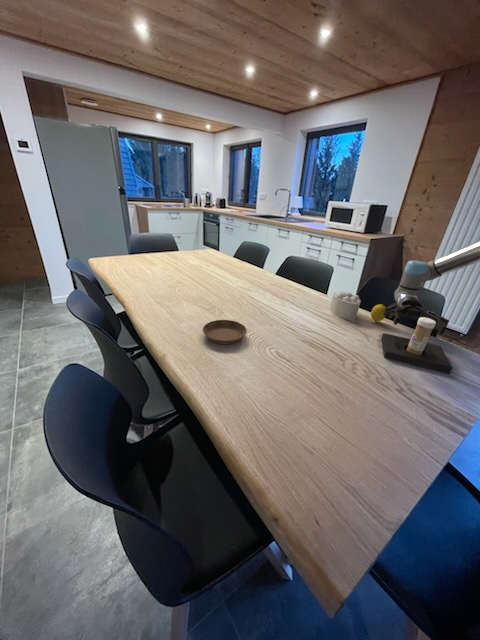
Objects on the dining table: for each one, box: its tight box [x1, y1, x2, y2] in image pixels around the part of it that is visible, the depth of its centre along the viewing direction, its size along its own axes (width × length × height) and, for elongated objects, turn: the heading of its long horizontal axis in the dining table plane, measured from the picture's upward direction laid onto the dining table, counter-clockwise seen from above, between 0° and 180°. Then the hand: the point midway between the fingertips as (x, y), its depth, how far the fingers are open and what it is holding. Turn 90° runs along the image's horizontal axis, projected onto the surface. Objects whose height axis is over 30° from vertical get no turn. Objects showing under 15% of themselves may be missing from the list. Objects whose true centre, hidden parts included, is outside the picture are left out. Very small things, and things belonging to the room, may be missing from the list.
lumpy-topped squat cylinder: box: [329, 291, 362, 321], centre depth 115 cm, size 10×13×9 cm
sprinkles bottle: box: [407, 317, 436, 355], centre depth 84 cm, size 5×5×13 cm
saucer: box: [202, 319, 247, 345], centre depth 90 cm, size 15×15×3 cm
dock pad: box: [380, 332, 453, 375], centre depth 88 cm, size 18×14×2 cm
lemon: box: [370, 303, 387, 323], centre depth 109 cm, size 6×6×8 cm
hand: (419, 325), depth 88 cm, fingers open, 13 cm apart
